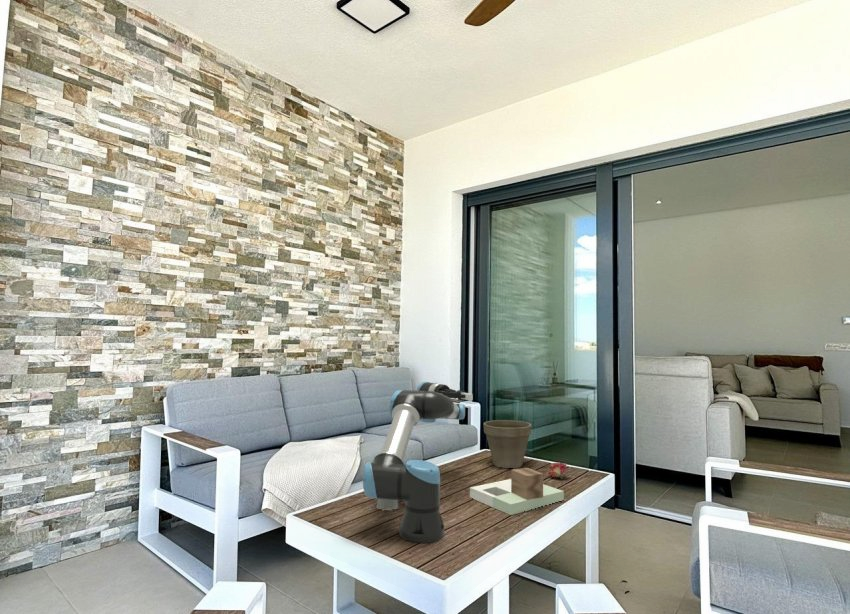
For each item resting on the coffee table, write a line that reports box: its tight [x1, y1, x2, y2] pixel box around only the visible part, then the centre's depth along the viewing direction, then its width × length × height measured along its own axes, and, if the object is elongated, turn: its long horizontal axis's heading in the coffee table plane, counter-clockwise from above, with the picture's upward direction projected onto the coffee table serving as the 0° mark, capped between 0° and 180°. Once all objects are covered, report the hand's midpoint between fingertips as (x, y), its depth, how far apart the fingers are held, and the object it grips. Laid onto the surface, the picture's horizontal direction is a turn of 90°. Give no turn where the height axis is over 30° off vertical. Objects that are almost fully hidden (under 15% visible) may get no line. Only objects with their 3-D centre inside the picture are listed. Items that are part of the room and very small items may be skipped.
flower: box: [547, 461, 568, 480], centre depth 231 cm, size 10×9×8 cm
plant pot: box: [483, 419, 532, 469], centre depth 254 cm, size 25×25×22 cm
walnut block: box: [510, 467, 544, 500], centre depth 194 cm, size 8×10×9 cm
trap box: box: [469, 478, 565, 516], centre depth 200 cm, size 30×24×4 cm
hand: (471, 397), depth 214 cm, fingers closed
